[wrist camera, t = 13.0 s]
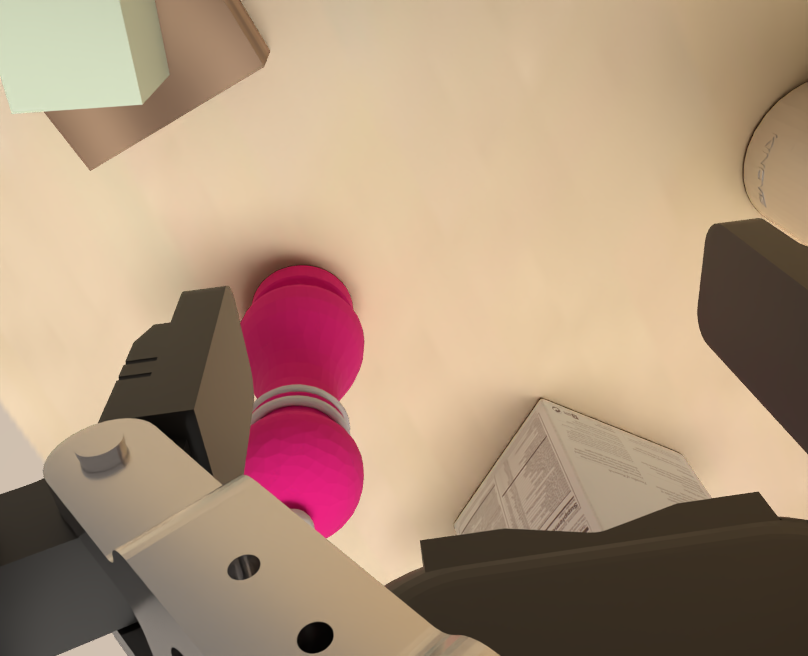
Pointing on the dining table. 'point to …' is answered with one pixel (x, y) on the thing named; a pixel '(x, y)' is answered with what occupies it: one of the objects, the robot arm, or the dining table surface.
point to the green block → (79, 53)
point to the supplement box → (577, 477)
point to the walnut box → (173, 77)
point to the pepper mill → (304, 394)
